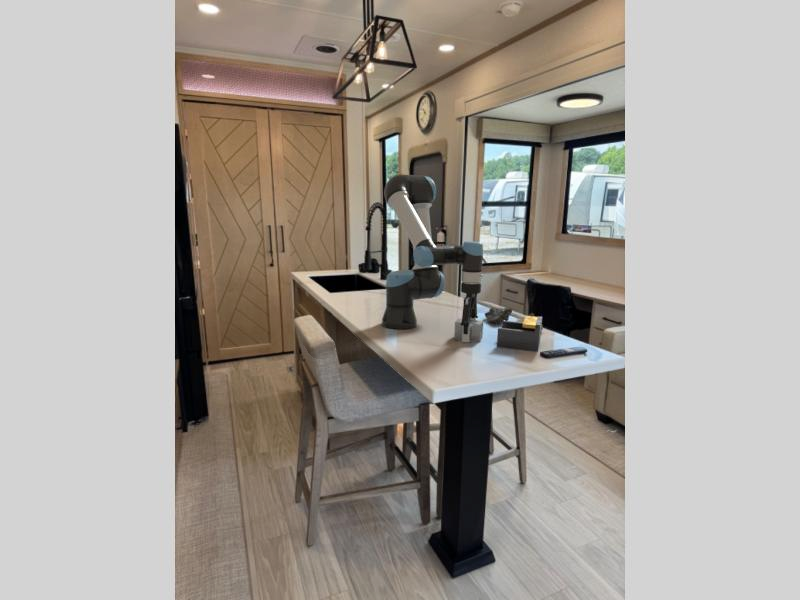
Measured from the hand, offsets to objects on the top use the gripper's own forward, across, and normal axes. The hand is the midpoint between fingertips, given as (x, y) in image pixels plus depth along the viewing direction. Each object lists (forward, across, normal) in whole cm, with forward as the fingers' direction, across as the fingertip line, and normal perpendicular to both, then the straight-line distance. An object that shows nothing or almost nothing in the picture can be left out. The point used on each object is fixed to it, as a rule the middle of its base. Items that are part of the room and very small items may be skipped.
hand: (468, 337), depth 172 cm
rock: (+1, +32, -6) cm, 33 cm away
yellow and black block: (+1, +21, -21) cm, 30 cm away
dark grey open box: (0, 0, -19) cm, 19 cm away
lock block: (0, 0, 0) cm, 0 cm away
